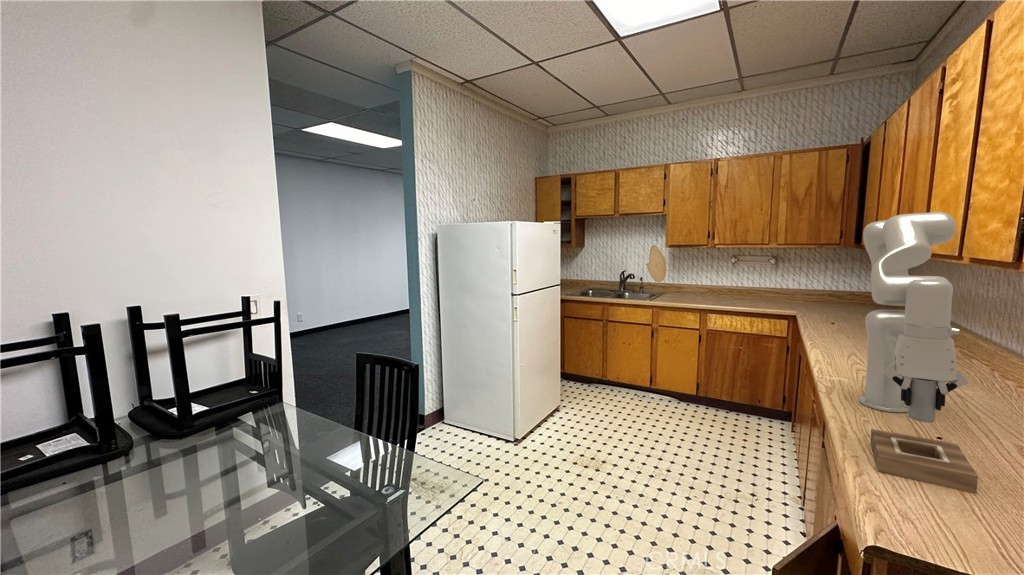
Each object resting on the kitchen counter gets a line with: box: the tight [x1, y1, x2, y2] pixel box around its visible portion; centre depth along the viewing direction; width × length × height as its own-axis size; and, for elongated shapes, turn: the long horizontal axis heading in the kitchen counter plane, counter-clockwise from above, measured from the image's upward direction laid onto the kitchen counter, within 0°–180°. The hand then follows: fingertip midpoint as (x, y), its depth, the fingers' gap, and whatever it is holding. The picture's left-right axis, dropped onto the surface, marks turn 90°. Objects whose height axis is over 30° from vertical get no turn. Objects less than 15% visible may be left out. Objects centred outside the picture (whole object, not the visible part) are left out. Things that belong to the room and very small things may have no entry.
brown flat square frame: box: [870, 428, 979, 494], centre depth 98 cm, size 16×16×4 cm
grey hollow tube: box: [907, 378, 938, 423], centre depth 96 cm, size 4×4×10 cm
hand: (921, 405), depth 97 cm, fingers closed on grey hollow tube, 4 cm apart
